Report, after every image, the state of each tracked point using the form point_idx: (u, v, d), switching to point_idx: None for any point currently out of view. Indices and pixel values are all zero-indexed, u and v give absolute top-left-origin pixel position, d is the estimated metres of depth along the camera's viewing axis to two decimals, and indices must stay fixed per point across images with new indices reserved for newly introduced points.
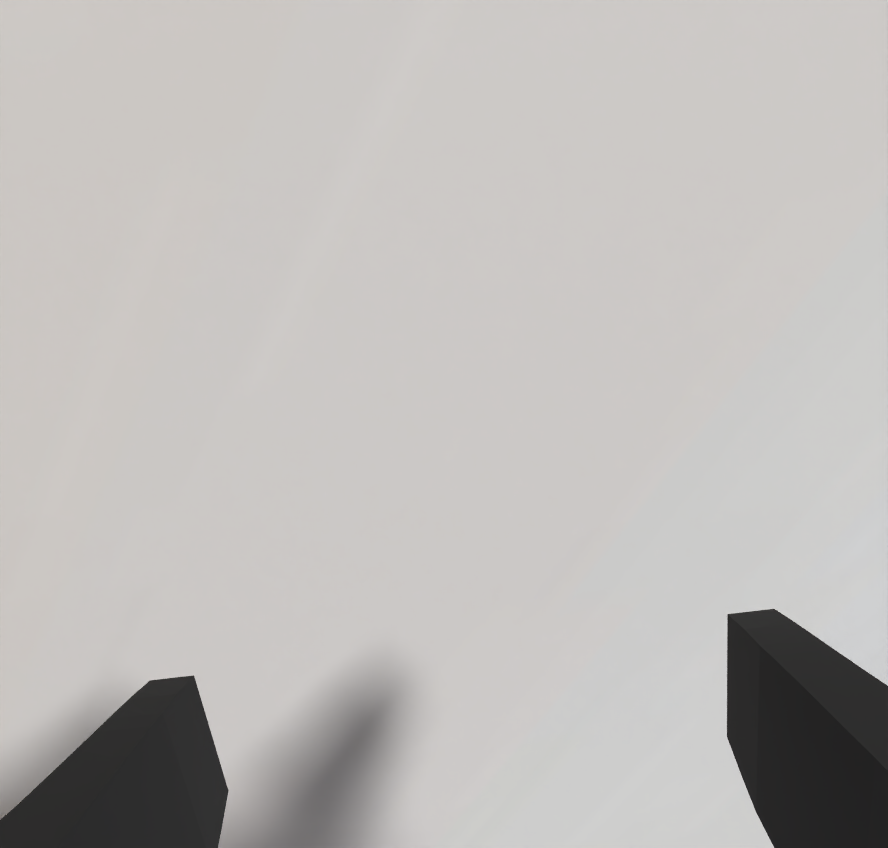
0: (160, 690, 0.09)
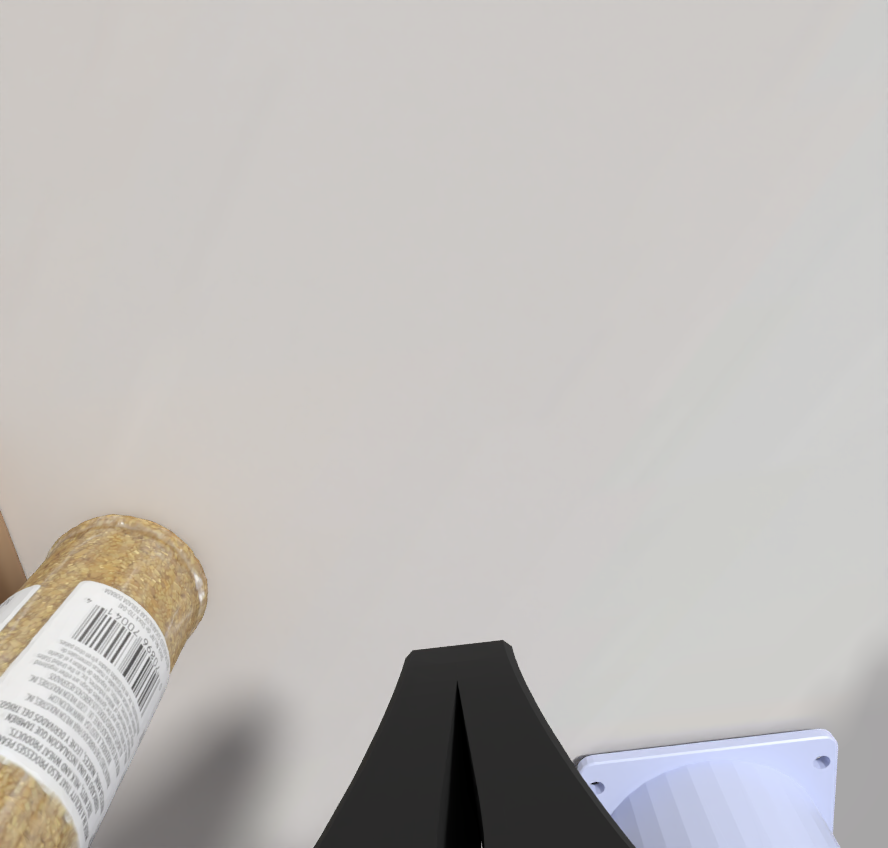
0: (435, 659, 0.09)
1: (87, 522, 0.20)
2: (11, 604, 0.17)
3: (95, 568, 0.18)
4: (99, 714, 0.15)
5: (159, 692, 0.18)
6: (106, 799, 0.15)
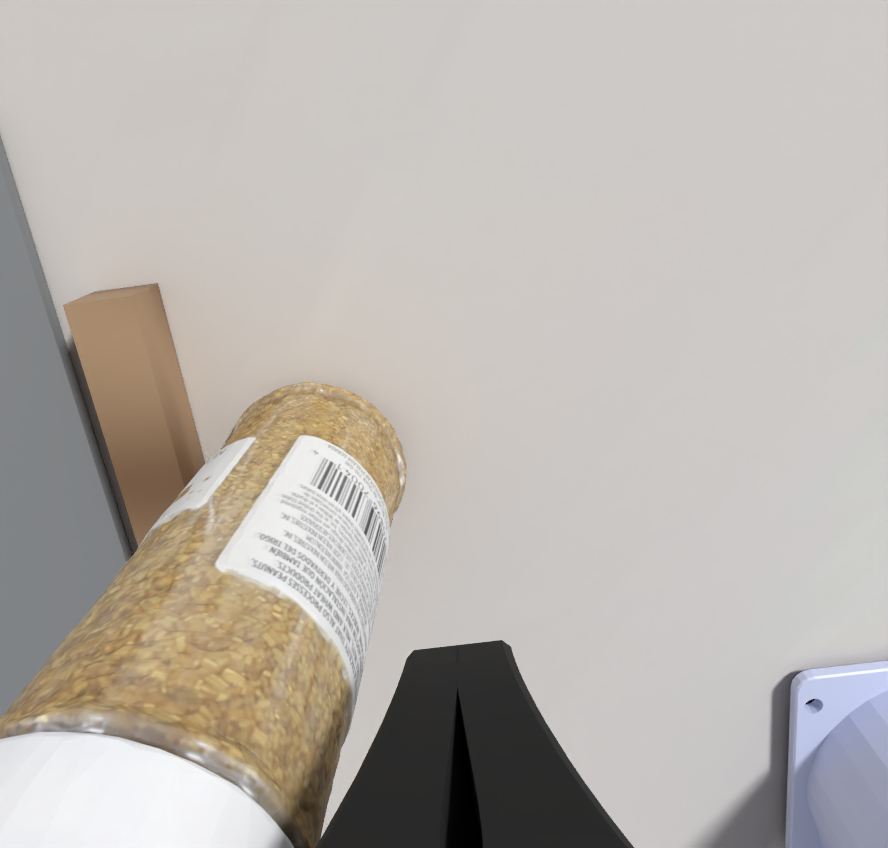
0: (436, 659, 0.09)
1: (281, 389, 0.18)
2: (228, 453, 0.14)
3: (309, 426, 0.16)
4: (353, 568, 0.12)
5: (384, 568, 0.15)
6: (363, 667, 0.12)
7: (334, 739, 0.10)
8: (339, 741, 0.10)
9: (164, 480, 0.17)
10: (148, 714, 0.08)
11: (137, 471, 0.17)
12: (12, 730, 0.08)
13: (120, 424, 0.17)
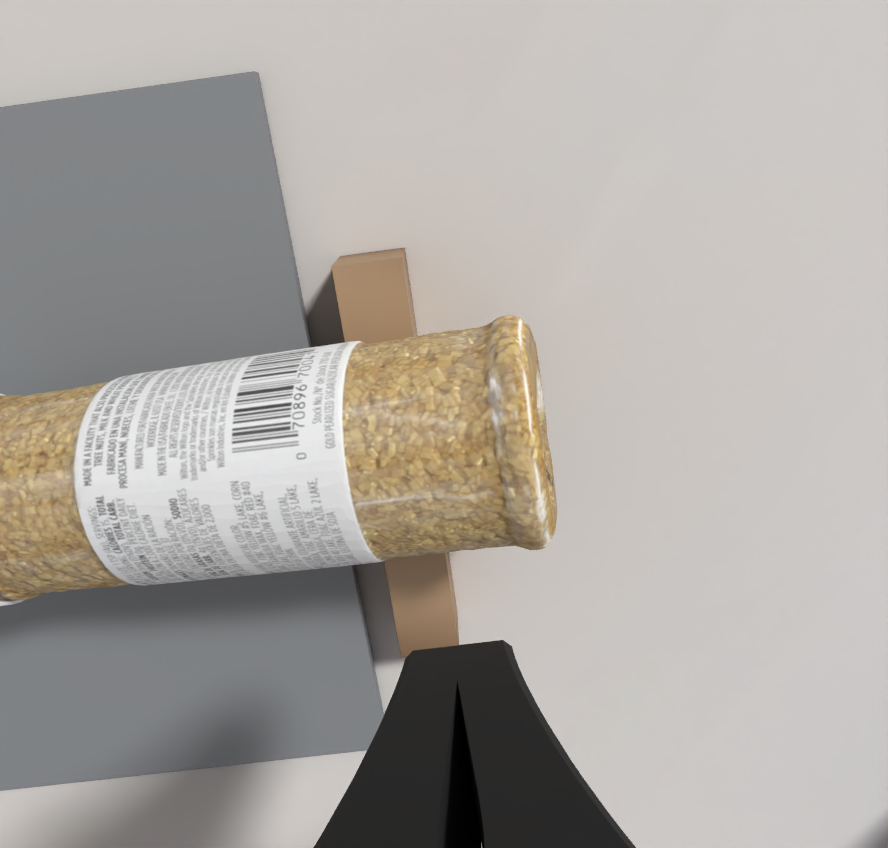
0: (434, 659, 0.09)
1: None
2: None
3: None
4: (177, 402, 0.14)
5: (298, 462, 0.13)
6: (132, 480, 0.13)
7: (27, 464, 0.14)
8: (38, 477, 0.14)
9: None
10: (9, 395, 0.16)
11: None
12: None
13: None
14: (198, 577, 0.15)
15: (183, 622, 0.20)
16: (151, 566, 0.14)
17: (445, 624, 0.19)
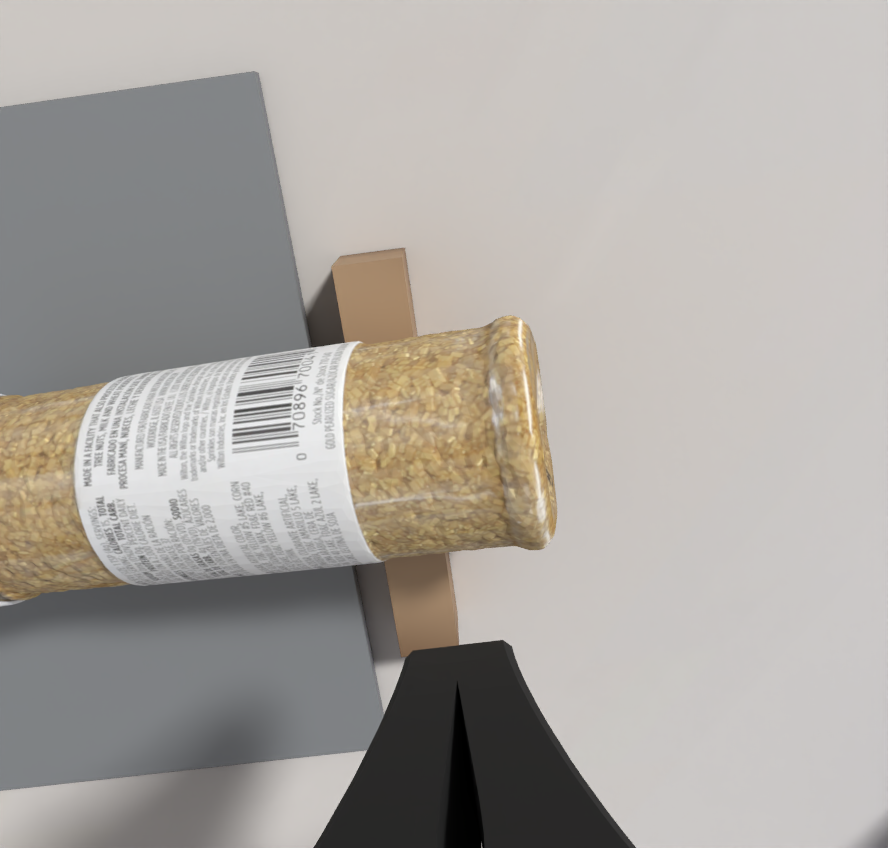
0: (435, 659, 0.09)
1: None
2: None
3: None
4: (177, 402, 0.14)
5: (298, 463, 0.13)
6: (132, 481, 0.13)
7: (27, 465, 0.14)
8: (38, 477, 0.14)
9: None
10: (8, 395, 0.16)
11: None
12: None
13: None
14: (198, 577, 0.15)
15: (183, 622, 0.20)
16: (152, 566, 0.14)
17: (445, 624, 0.19)
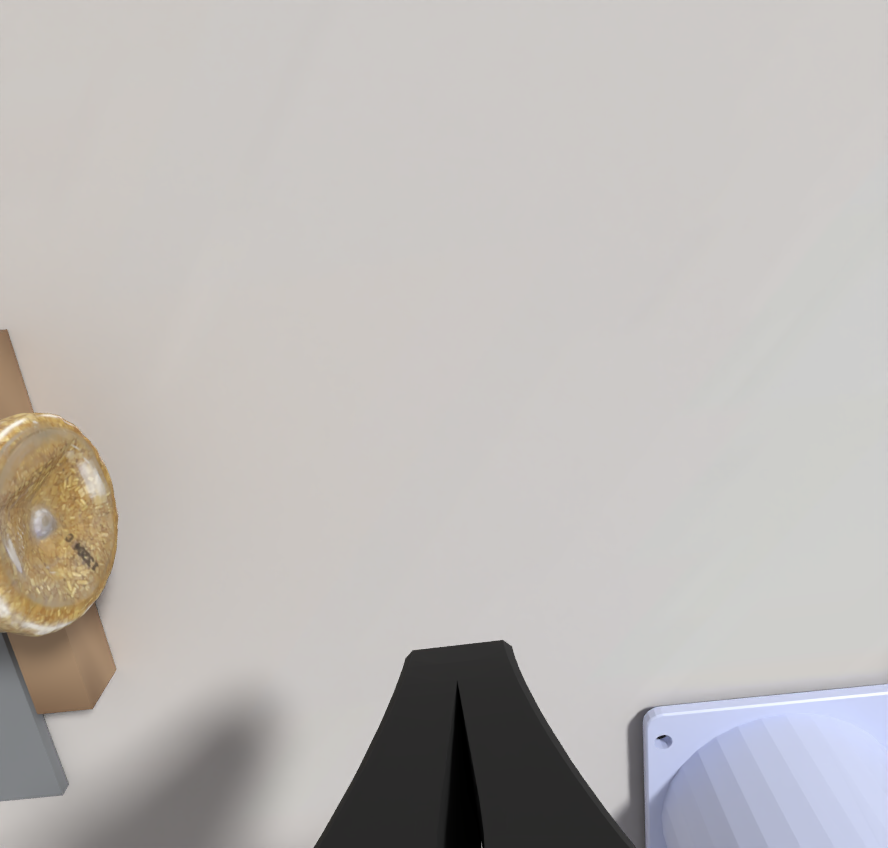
0: (435, 659, 0.09)
1: None
2: None
3: None
4: None
5: None
6: None
7: None
8: None
9: None
10: None
11: None
12: None
13: None
14: None
15: None
16: None
17: (74, 684, 0.20)
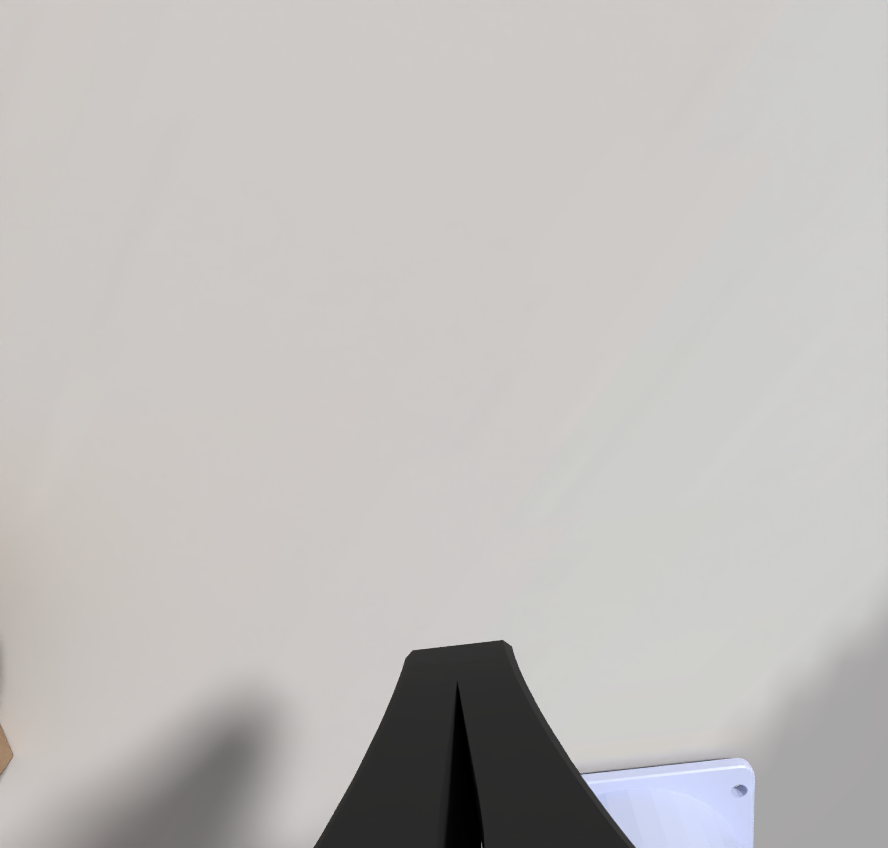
0: (435, 659, 0.09)
1: None
2: None
3: None
4: None
5: None
6: None
7: None
8: None
9: None
10: None
11: None
12: None
13: None
14: None
15: None
16: None
17: None
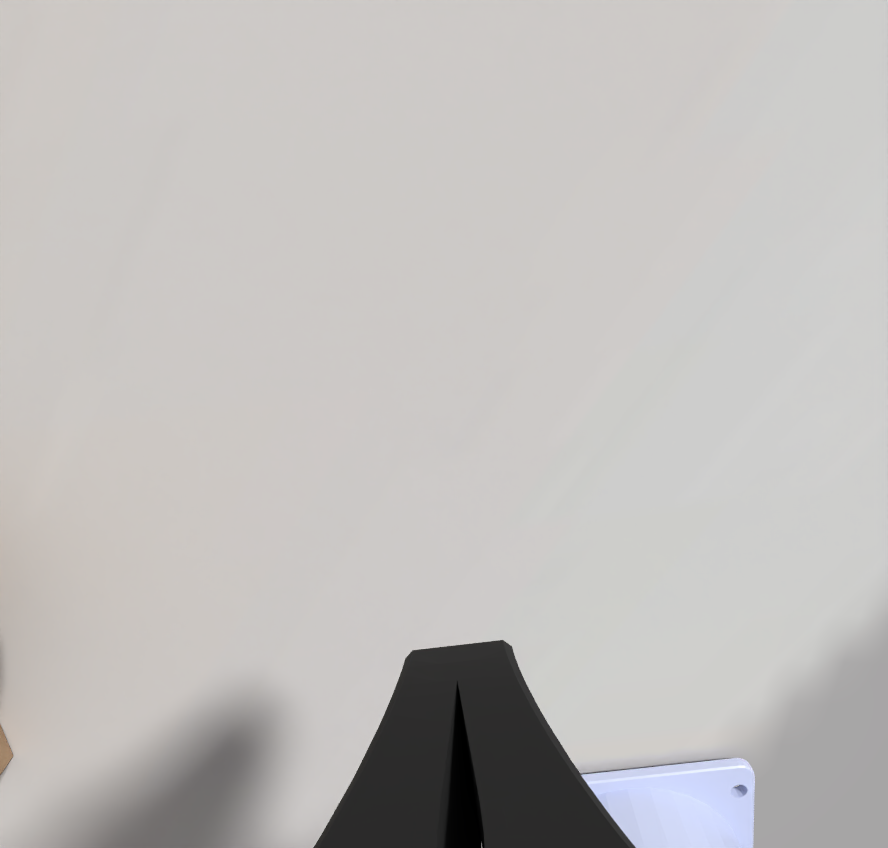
0: (435, 659, 0.09)
1: None
2: None
3: None
4: None
5: None
6: None
7: None
8: None
9: None
10: None
11: None
12: None
13: None
14: None
15: None
16: None
17: None
